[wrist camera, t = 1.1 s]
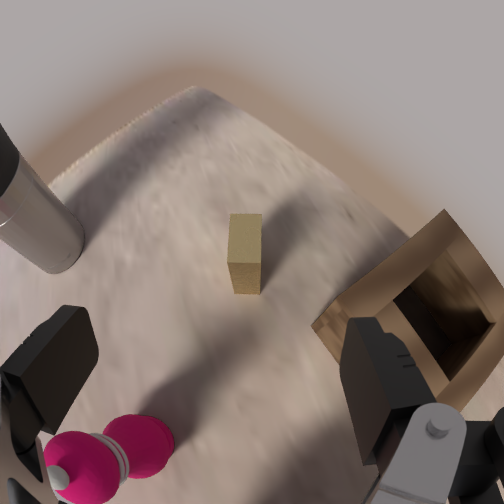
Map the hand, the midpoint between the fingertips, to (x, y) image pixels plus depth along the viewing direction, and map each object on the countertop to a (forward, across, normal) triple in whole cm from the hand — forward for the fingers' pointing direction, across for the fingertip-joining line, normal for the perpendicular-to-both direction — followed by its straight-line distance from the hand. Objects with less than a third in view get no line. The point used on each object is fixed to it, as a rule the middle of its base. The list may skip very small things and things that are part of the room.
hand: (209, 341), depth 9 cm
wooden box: (+22, -18, +16) cm, 32 cm away
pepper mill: (+13, +11, +26) cm, 30 cm away
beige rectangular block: (+27, 0, +10) cm, 29 cm away
